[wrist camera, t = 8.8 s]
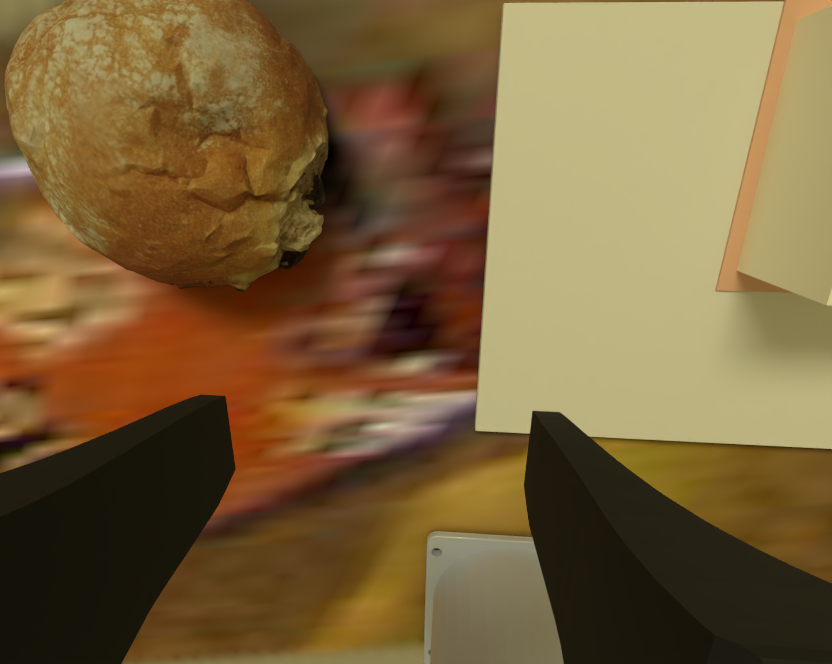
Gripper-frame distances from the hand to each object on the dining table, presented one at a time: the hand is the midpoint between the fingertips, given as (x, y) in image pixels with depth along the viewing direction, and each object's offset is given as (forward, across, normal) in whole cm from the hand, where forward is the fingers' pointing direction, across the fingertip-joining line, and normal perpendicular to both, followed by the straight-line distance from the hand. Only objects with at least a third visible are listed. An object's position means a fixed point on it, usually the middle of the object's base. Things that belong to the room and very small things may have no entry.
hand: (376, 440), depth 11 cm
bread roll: (+10, +8, -6) cm, 14 cm away
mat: (+9, -11, -3) cm, 15 cm away
